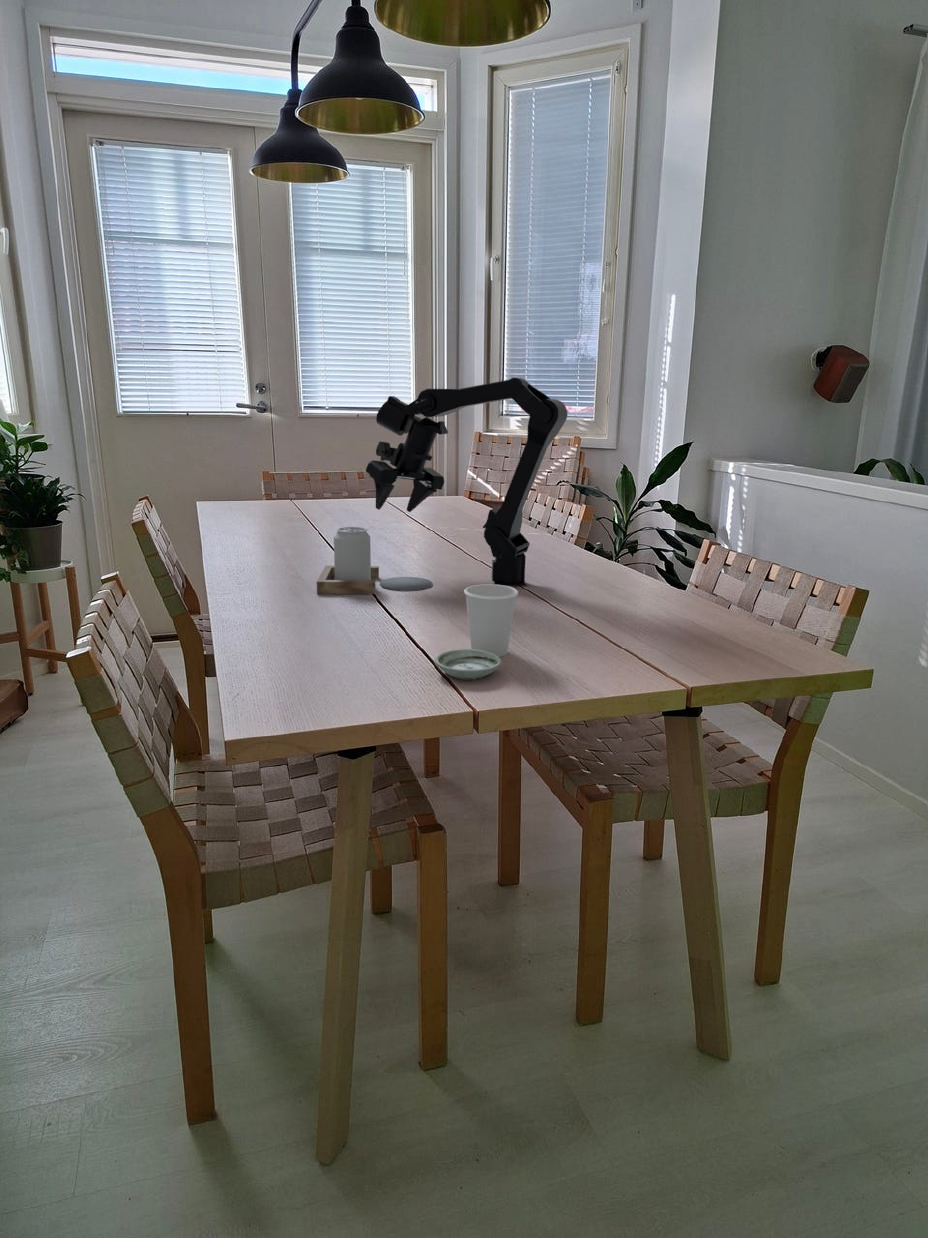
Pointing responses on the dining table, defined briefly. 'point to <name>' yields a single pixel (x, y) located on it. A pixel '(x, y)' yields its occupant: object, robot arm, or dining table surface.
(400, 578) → the pad
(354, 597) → the dining table surface
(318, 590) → the wooden frame
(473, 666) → the saucer
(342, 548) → the can
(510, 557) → the robot arm
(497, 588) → the dixie cup
